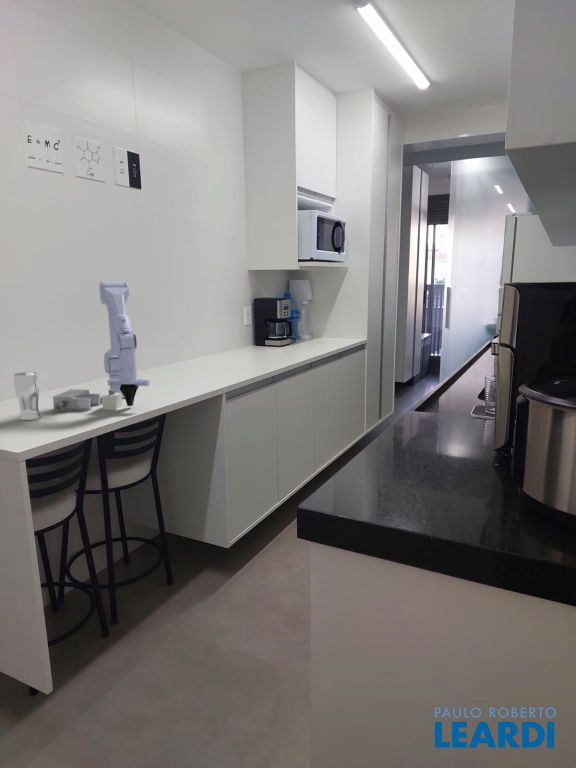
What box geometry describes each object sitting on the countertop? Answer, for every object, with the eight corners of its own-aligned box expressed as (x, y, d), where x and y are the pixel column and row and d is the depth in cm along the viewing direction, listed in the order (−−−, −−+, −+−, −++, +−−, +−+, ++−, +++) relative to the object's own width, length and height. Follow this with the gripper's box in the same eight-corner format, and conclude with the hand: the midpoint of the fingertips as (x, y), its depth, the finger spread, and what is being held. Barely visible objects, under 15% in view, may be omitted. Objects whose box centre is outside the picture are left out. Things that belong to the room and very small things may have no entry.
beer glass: (28, 422, 162) (23, 376, 159) (13, 419, 165) (8, 374, 162) (46, 416, 168) (42, 372, 165) (32, 414, 171) (27, 371, 168)
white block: (109, 406, 183) (107, 388, 181) (122, 406, 182) (121, 388, 181) (102, 409, 178) (101, 391, 177) (116, 409, 177) (115, 391, 176)
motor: (71, 402, 188) (70, 389, 187) (102, 403, 187) (101, 390, 186) (49, 412, 173) (47, 398, 172) (82, 413, 172) (81, 399, 171)
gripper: (102, 369, 173) (105, 407, 176) (143, 370, 172) (145, 408, 175) (111, 365, 180) (114, 402, 183) (151, 366, 179) (153, 403, 182)
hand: (130, 405), depth 179 cm, fingers closed
